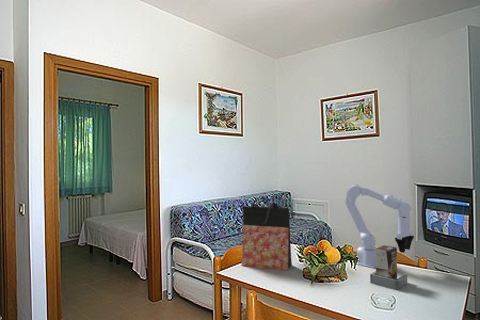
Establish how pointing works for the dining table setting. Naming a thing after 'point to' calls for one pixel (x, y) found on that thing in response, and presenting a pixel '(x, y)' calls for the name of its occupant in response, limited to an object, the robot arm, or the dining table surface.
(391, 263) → the coffee box
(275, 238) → the gift bag
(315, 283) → the dining table surface
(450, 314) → the dining table surface
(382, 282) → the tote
